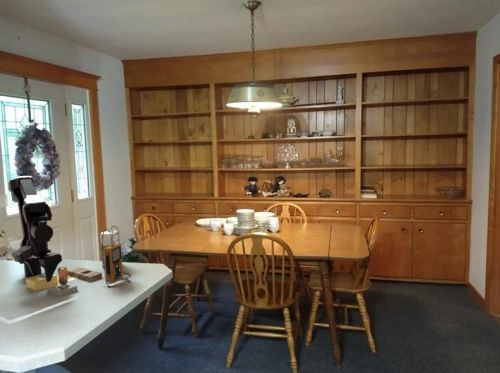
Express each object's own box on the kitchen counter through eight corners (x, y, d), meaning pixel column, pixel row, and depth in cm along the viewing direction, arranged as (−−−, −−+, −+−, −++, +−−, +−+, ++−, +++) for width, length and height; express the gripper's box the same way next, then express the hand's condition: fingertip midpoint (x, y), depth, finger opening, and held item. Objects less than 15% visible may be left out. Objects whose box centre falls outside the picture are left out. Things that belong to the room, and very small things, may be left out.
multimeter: (126, 288, 136) (122, 232, 134) (100, 287, 138) (96, 231, 136) (145, 274, 150) (142, 223, 148) (121, 273, 152) (118, 223, 150)
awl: (58, 294, 132) (56, 268, 131) (66, 291, 134) (63, 266, 133) (62, 296, 130) (60, 270, 129) (70, 293, 133) (68, 267, 132)
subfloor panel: (23, 288, 138) (23, 286, 138) (63, 275, 151) (63, 273, 151) (38, 293, 133) (38, 291, 133) (78, 280, 145) (78, 278, 145)
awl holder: (51, 295, 131) (50, 287, 131) (67, 289, 136) (67, 282, 136) (60, 298, 128) (60, 291, 128) (77, 292, 133) (77, 285, 133)
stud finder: (26, 287, 137) (25, 277, 137) (48, 280, 144) (48, 271, 143) (35, 290, 134) (34, 280, 134) (57, 283, 140) (57, 273, 140)
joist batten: (66, 276, 150) (66, 270, 149) (78, 272, 154) (78, 266, 154) (90, 283, 141) (89, 277, 141) (102, 279, 145) (101, 272, 145)
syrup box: (121, 263, 165) (119, 230, 163) (115, 268, 159) (113, 233, 157) (108, 263, 165) (106, 230, 163) (102, 267, 159) (99, 233, 158)
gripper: (0, 238, 135) (5, 281, 137) (28, 245, 125) (32, 291, 127) (33, 231, 145) (36, 272, 146) (61, 237, 134) (64, 281, 136)
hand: (41, 279), depth 139 cm, fingers open, 9 cm apart
